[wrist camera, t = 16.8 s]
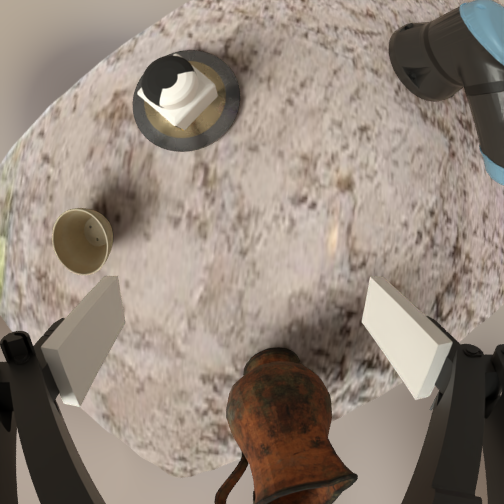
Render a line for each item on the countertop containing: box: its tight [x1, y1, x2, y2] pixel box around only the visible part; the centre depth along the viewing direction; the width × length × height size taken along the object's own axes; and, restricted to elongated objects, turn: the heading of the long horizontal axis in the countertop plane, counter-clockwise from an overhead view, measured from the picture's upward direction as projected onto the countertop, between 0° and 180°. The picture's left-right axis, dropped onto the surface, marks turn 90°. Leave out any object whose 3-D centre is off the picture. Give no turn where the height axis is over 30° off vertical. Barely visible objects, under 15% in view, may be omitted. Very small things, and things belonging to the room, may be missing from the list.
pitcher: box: [215, 348, 358, 504], centre depth 41 cm, size 17×21×30 cm
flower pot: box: [52, 208, 113, 275], centre depth 41 cm, size 10×10×7 cm
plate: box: [133, 51, 240, 152], centre depth 39 cm, size 16×16×2 cm
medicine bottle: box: [138, 53, 218, 130], centre depth 33 cm, size 7×7×12 cm
